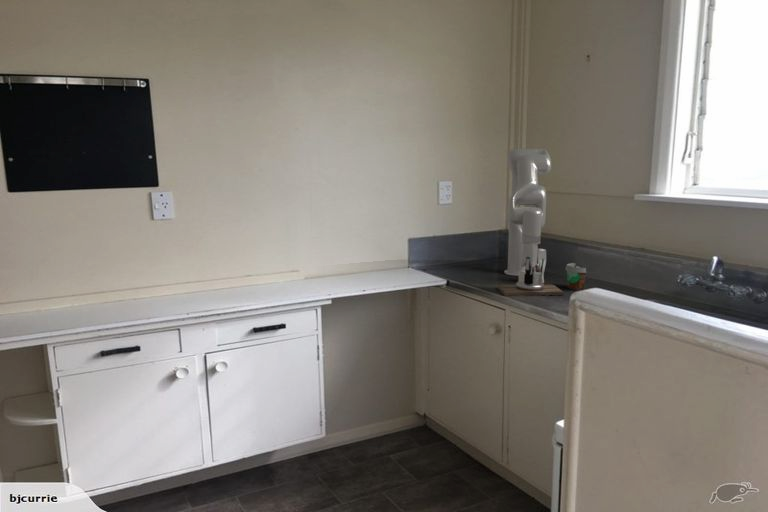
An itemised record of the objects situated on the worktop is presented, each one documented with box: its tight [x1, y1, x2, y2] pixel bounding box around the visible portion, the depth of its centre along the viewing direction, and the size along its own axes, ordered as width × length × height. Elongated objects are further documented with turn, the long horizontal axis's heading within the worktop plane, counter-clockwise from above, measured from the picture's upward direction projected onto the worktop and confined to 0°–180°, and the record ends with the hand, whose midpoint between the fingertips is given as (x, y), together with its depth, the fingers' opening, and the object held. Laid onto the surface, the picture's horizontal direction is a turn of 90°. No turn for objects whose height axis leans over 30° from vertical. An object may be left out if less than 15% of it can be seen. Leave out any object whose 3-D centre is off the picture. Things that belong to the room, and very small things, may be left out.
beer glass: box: [535, 248, 547, 284], centre depth 273 cm, size 7×7×15 cm
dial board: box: [496, 283, 565, 297], centre depth 255 cm, size 15×24×2 cm, turn 91°
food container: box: [565, 262, 587, 291], centre depth 261 cm, size 12×6×10 cm, turn 5°
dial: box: [516, 270, 545, 290], centre depth 255 cm, size 11×11×7 cm
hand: (529, 282), depth 255 cm, fingers closed on dial, 3 cm apart
